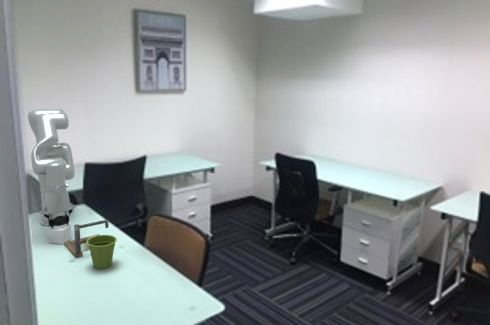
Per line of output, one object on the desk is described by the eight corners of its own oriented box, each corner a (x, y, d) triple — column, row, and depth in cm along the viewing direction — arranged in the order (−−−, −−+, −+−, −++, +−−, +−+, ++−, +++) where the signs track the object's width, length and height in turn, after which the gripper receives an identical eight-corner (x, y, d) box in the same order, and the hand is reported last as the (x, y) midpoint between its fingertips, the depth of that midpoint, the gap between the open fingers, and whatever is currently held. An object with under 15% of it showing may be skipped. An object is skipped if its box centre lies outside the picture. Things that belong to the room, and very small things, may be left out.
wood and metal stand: (76, 258, 173) (73, 226, 170) (64, 245, 185) (62, 215, 182) (112, 248, 183) (110, 219, 180) (98, 237, 195) (97, 208, 192)
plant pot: (108, 273, 161) (107, 247, 159) (82, 269, 164) (80, 244, 161) (123, 260, 173) (122, 236, 170) (98, 257, 175) (96, 233, 172)
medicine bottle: (71, 238, 193) (70, 214, 190) (63, 244, 186) (61, 220, 183) (57, 237, 194) (55, 213, 191) (49, 243, 187) (47, 219, 184)
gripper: (73, 183, 192) (75, 219, 196) (33, 189, 181) (37, 226, 185) (78, 187, 187) (80, 223, 191) (38, 193, 176) (41, 232, 180)
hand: (59, 224), depth 188 cm, fingers closed on medicine bottle, 6 cm apart
